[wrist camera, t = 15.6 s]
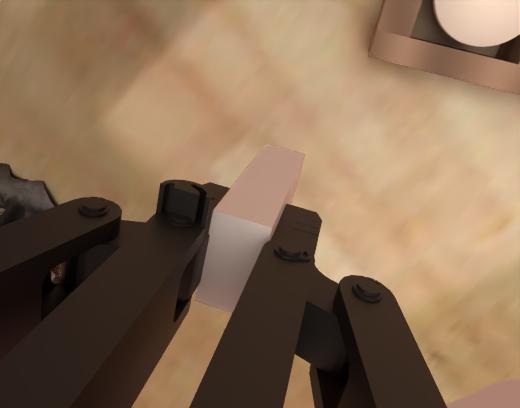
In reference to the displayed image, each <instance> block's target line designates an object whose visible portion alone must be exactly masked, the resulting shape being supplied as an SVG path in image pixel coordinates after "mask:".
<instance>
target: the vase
mask: <svg viewBox="0 0 520 408" xmlns="http://www.w3.org/2000/svg"><path fill="white" fill-rule="evenodd" d="M52 207H54V205H53V204H52V202H51V201H50V199H49V197H48V195H47V192H46V190H45V188H44V181H30V180H27V179H26V180H20V179H16V178H13V177H12V176H11V175H10V168H9V165H8V164H3V163H0V208H3V209H6V210H5V211H4V212H3V214H2V215H1V216H0V227H1V226H3V225H6V224H9V223H12V222H14V221H17V220H20V219H22V218H25V217H28V216H31V215H33V214H36V213H39V212H42V211H44V210H47V209H50V208H52ZM54 278H55V274H54V273H53V272H52V271H51V280H53V279H54Z"/></svg>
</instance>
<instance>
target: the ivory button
mask: <svg viewBox="0 0 520 408" xmlns="http://www.w3.org/2000/svg"><path fill="white" fill-rule="evenodd" d="M432 5H433V11H434V15H435V18H436V20H437V22H438V24H439V26H440V27H441V29H442V30H443V31H444V32H445V33H446V34H447V35H448V36H450V37H451V38H452V39H454V40H456V41H458V42H461V43H464V44H468V45H472V46H479V47H486V46H494V45H498V44H501V43H504V42H507V41H509V40H511V39H513V38H515V37H516V36H518V35H519V34H520V0H432Z"/></svg>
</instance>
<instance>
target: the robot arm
mask: <svg viewBox="0 0 520 408" xmlns="http://www.w3.org/2000/svg"><path fill="white" fill-rule="evenodd" d="M304 156H305V154H302V153H299V152H295V151H292V150H288V149H285V148H281V147H277V146H274V145H270V144H267V143H266V144H265V145H264V146H263V147H262V149H261V150H260V151H259V153H258V154H257V155H256V156H255V158H254V159H253V160H252V161H251V163H250V164H249V165H248V167H247V168H246V169H245V170H244V172H243V173H242V174H241V175H240V177H239V178H238V179H237V181H236V182H235V183H234V184H233V186H232V187H231V188H227V187H224V186H221V185H217V184H214V183H207V184H203V185H200V184H198V183H195V182H191V181H186V180H168V181H165V182H163V183H160V189H159V196H158V203H157V210H156V213H155V214H154V215H153V216H152V217H151V218H150V219H149V220H148V221H147V222H134V221H126V220H121V215H122V210H121V208H120V206H119V205H117V204H115V203H114V202H112V201H109V200H106V199H104V198H100V197H99V198H98V197H89V198H79V199H75V200H72V201H69V202H66V203H63V204H61V205H58V206H55V207H52V208H50V209H47V210H44V211H42V212H39V213H36V214H33V215H31V216H28V217H25V218H22V219H20V220H17V221H14V222H12V223H9V224H6V225H3V226H1V227H0V408H131V407H132V405H133V404H134V402H135V400H136V399H137V397H138V395H139V394H140V392H141V390H142V389H143V387H144V385H145V384H146V382H147V380H148V379H149V377H150V375H151V373H152V372H153V370H154V368H155V367H156V365H157V363H158V362H159V360H160V358H161V357H162V355H163V353H164V352H165V350H166V348H167V347H168V345H169V343H170V342H171V340H172V338H173V337H174V335H175V333H176V332H177V330H178V328H179V327H180V325H181V323H182V321H183V320H184V318H185V316H186V315H187V313H188V311H189V307H190V303H191V298H192V294H193V293H194V291H195V289H196V288H197V286H198V288H197V293H196V298H195V301H198V302H201V303H204V304H207V305H210V306H213V307H216V308H219V309H222V310H226V311H229V312H232V315H231V317H230V320H229V322H228V324H227V326H226V328H225V331H224V333H223V335H222V337H221V339H220V342H219V344H218V346H217V348H216V350H215V353H214V355H213V357H212V359H211V361H210V364H209V366H208V368H207V370H206V372H205V374H204V377H203V379H202V381H201V383H200V385H199V388H198V390H197V392H196V394H195V396H194V399H193V401H192V403H191V405H190V407H189V408H283V405H284V401H285V396H286V392H287V387H288V382H289V378H290V373H291V369H292V364H293V359H294V355H295V354H296V355H297V356H299V357H301V358H302V359H304V360H306V361H307V362H309V363H311V365H310V372H309V374H310V381H311V387H312V393H313V400H314V406H315V408H447V407H446V404H445V402H444V400H443V398H442V396H441V394H440V392H439V389H438V387H437V385H436V383H435V381H434V379H433V377H432V375H431V373H430V370H429V368H428V366H427V364H426V362H425V360H424V358H423V356H422V353H421V351H420V349H419V347H418V345H417V343H416V341H415V339H414V337H413V334H412V332H411V330H410V328H409V326H408V324H407V322H406V320H405V318H404V315H403V313H402V311H401V309H400V307H399V305H398V303H397V301H396V298H395V297H394V295H393V294H392V292H391V291H390V290H389V289H388V288H386V287H385V286H384V285H383V284H381V283H380V282H378V281H375V280H374V279H372V278H369V277H363V276H356V275H350V276H346V277H344V278H343V279H342V280H341V281H340V282H339V284H338V283H336V282H334V281H332V280H331V279H329V278H327V277H326V276H324V275H323V274H322V273H321V272H320V271H319V270H318V269H317V268H316V266H315V264H314V263H315V258H314V255H315V250H316V246H317V241H318V236H319V232H320V227H321V223H322V220H321V219H320V217H319V215H318V214H317V212H313V211H310V210H307V209H303V208H300V207H296V206H293V205H291V203H292V199H293V196H294V192H295V188H296V185H297V181H298V178H299V174H300V170H301V167H302V163H303V160H304ZM61 263H62V264H61ZM59 264H61V276H60V277H58V278H56V279H53V280H51V270H52V269H53V268H54V267H56V266H57V265H59Z"/></svg>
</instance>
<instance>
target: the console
mask: <svg viewBox="0 0 520 408" xmlns="http://www.w3.org/2000/svg"><path fill="white" fill-rule="evenodd" d="M369 57H371V58H375V59H379V60H383V61H387V62H391V63H395V64H399V65H403V66H407V67H411V68H415V69H419V70H423V71H427V72H431V73H435V74H439V75H443V76H447V77H451V78H454V79H458V80H462V81H466V82H470V83H474V84H478V85H482V86H486V87H490V88H494V89H498V90H502V91H506V92H510V93H514V94H518V95H520V34H519V35H518V36H516V37H515V38H513V39H511V40H509V41H507V42H504V43H501V44H498V45H494V46H486V47H479V46H472V45H468V44H464V43H461V42H458V41H456V40H454V39H452V38H451V37H450V36H448V35H447V34H446V33H445V32H444V31H443V30H442V29H441V27H440V26H439V24H438V22H437V20H436V18H435V15H434V11H433V5H432V0H384V1H383V4H382V8H381V11H380V14H379V18H378V21H377V24H376V28H375V31H374V34H373V37H372V41H371V44H370V47H369Z"/></svg>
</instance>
